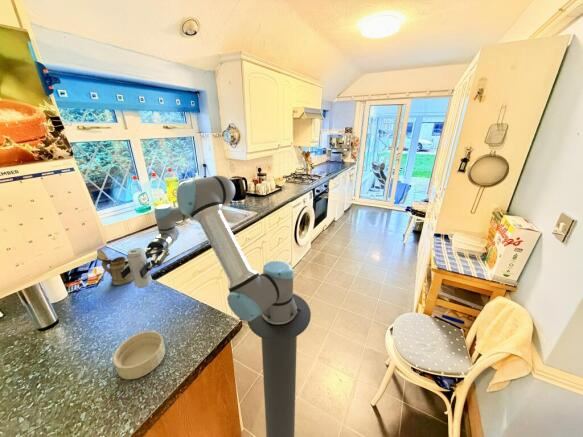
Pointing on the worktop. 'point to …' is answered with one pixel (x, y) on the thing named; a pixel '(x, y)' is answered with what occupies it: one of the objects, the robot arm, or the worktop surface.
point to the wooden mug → (114, 268)
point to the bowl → (139, 354)
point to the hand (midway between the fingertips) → (131, 274)
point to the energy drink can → (138, 267)
